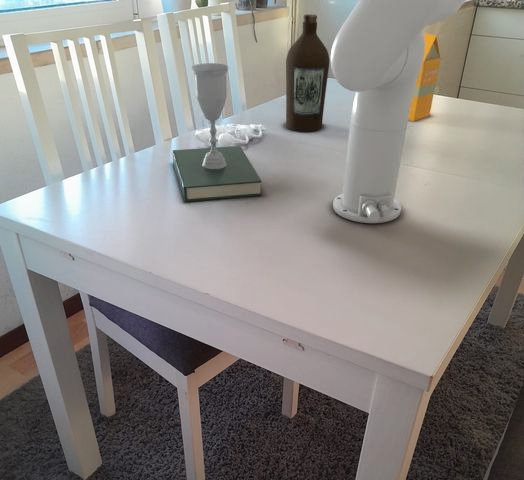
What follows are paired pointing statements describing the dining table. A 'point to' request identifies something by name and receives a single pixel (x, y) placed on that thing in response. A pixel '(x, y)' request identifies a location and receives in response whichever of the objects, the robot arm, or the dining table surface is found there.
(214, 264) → the dining table surface
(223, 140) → the tangled rod sculpture
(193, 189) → the book
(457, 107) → the dining table surface
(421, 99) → the orange juice
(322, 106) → the olive oil
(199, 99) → the chalice
